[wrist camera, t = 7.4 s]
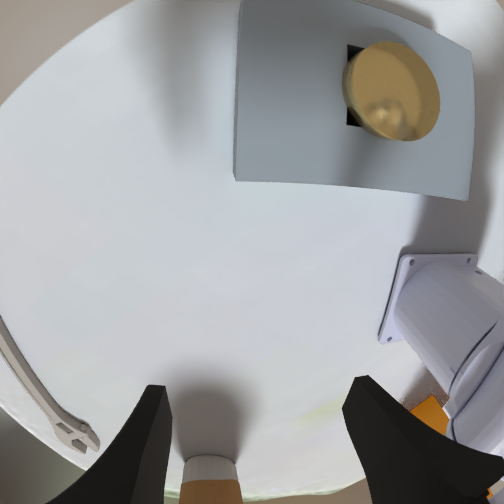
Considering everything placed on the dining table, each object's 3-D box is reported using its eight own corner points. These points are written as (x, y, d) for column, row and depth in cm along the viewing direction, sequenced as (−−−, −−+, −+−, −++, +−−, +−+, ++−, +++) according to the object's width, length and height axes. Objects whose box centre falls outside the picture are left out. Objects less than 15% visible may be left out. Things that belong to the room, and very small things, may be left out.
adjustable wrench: (-28, 276, 17) (-39, 284, 15) (8, 270, 17) (-4, 280, 15) (72, 441, 26) (68, 451, 24) (110, 447, 26) (108, 458, 25)
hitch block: (434, 59, 14) (470, 51, 10) (430, 188, 17) (467, 201, 14) (239, 14, 12) (244, -18, 9) (232, 172, 16) (235, 181, 12)
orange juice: (440, 410, 30) (496, 505, 11) (391, 444, 31) (435, 544, 13) (432, 393, 27) (501, 506, 9) (375, 432, 29) (427, 552, 10)
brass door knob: (386, 76, 14) (440, 62, 9) (381, 144, 16) (436, 151, 11) (317, 57, 14) (356, 27, 9) (311, 131, 15) (351, 128, 10)
